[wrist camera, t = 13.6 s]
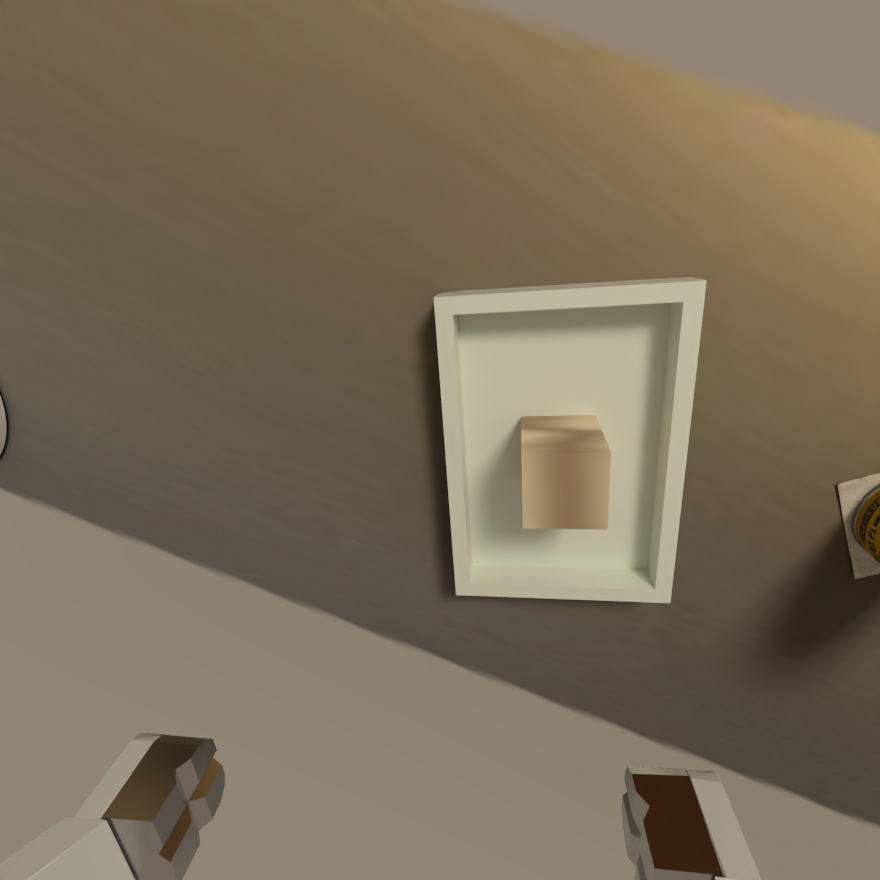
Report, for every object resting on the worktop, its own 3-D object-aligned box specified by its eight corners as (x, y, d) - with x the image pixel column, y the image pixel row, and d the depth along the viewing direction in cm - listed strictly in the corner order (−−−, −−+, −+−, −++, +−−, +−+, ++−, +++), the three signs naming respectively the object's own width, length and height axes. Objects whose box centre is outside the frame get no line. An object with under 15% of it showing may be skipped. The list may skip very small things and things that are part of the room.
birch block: (522, 480, 33) (522, 528, 28) (521, 416, 32) (521, 453, 26) (592, 480, 33) (607, 529, 27) (595, 414, 31) (611, 452, 25)
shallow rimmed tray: (460, 569, 38) (456, 595, 35) (441, 292, 30) (433, 297, 28) (658, 574, 35) (670, 603, 33) (688, 276, 28) (706, 280, 25)
